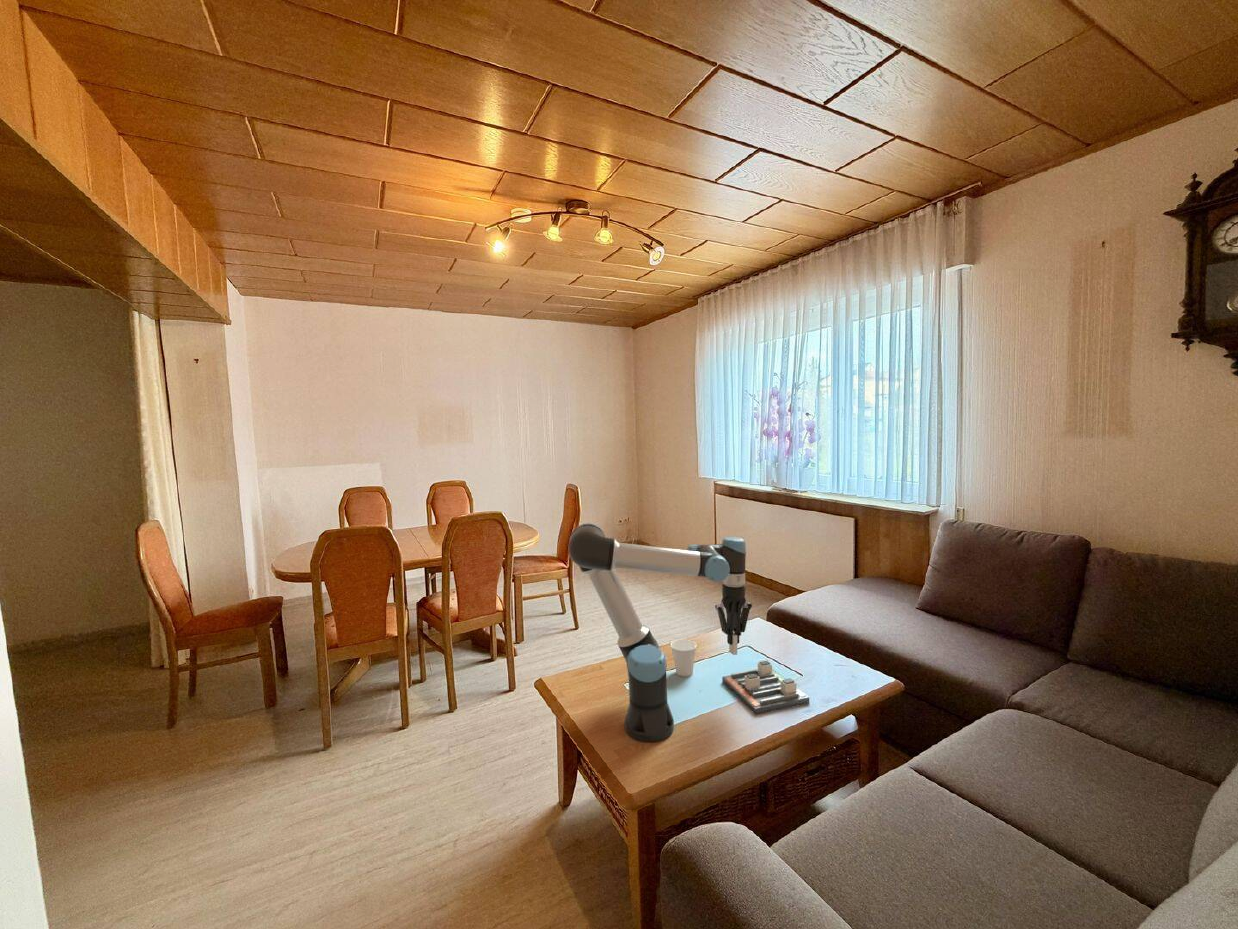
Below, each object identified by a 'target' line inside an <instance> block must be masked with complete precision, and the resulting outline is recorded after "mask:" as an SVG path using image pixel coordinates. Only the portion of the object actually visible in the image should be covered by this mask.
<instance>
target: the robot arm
mask: <svg viewBox="0 0 1238 929" xmlns="http://www.w3.org/2000/svg"><path fill="white" fill-rule="evenodd" d="M568 540H569V542H568V547H567V548H568V555H569V557H570V559H571V561H572V562H573V563H574V564H576V565H577V566H578V567H579V569H580V571H581V572H582V573H583V574H587V575H588V576H589V578H590V581H591V583H592V585H593V587H594V589H595V592H596V594H597V595H598V598H599V599H600V601H601V603H602V605H603V607H604V609H605V611H606V614H607V615H608V618H609V619H610V621H611V623H612V625H613V627H614V629H615V631H616V634H617V636H618V639H617V643H616V644H617V645H618V648H619V650H620V651H621V654H622V656H623V658H624V660H625V661H624V662H625V663H626V669H627V678H628V694H629V696H628V697H629V703H628V704H629V705H628V707H627V711H626V714H625V718H624V730H625V733H626V734H627V735H628V736H629V737H630V738H631V739H633V740H636V741H639V742H644V743H654V742H660V741H663V740H665V739H667V738H668V737H670V736H671V735H672V734H673V733H674V730H675V721H674V717H673V714H672V711H671V708H670V705H669V703H668V686H667V685H668V684H667V683H668V680H667V665H668V664H667V658H666V655H665V653H664V651H663V650H662V649H661V648H660V646H659V644H658V642H657V640H656V639H655V637H654V636H653V634H652V632H651V630H650V627H648V626H647V625H645V624H642V622H641V620H640V617H639V615H638V614H637V612H636V610H635V608H634V606H633V603H632V601H631V600H630V597H629V595H628V594H627V591H626V588H625V587H624V585H623V583H622V581H621V579H620V577H619V575H618V573H617V570H616V569H624V570H632V571H633V570H635V571H643V572H644V571H645V572H653V573H654V572H655V573H660V574H661V573H663V574H671V575H680V576H681V575H683V576H690V577H698V578H699V577H701V578H707V579H708V580H710V581H713V582H715V583H719V582H722V586H721V587H722V593H721V594H722V599H721V602H720V603H719V604H716V605H715V606H714V607H715V609H716V612H717V615H718V618H719V624H720V627H721V628H720V629H721V631H722V633H723V634H725V635H726V636H727V637H726V638H727V639H726V640H727V644H728V645H729V648H728V650H729V653H731V655H733V656H737V655H738V644H739V643H740V637H741V636H742V633H745V632H746V627H747V624H748V618H749V613H750V610H751V608H752V607H753V604H752V603H750V602H749V601H747V599H746V585H745V584H746V563H747V562H746V560H747V559H746V558H747V548H746V547H747V546H746V541H745V540H744V539H743V538H742V537H735V536H728V537H724V538H723V539H722V541H721V543H719V544H699V543H698V544H690V545H688V546H687V548H686V549H679V548H670V547H661V546H652V545H643V544H633V543H626V542H625V543H624V542H619V541H618V540H617V539H615V538H613V537H612V538H611V537H606V535H605V533H604V531H603V530H602V528H601V527H599V526H598V525H596V524H593V523H590V522H589V523H582V524H580V525H578V526H577V527H575V529H573V531H572V532H571V534H570V535H569V539H568ZM725 613H726V615H725Z"/></svg>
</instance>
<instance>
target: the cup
mask: <svg viewBox="0 0 1238 929" xmlns="http://www.w3.org/2000/svg"><path fill="white" fill-rule="evenodd" d="M697 647H698V645H697V643H696V642H695V641H693V640H689V639H675V640H674V641H672V642H671V643H670V648H671V652H672V656H673V662H674V668H675V672H676V675H678V676H679V677H684V678H685V677H691V675H693V672H694V668H695V667H694V665H695V658H696V651H697Z"/></svg>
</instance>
